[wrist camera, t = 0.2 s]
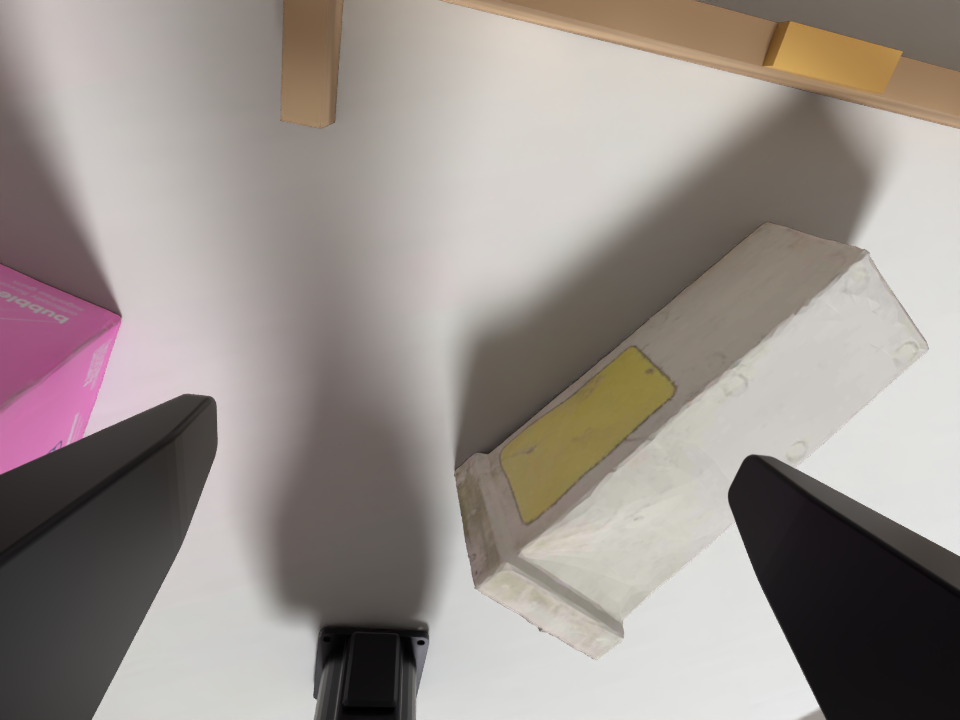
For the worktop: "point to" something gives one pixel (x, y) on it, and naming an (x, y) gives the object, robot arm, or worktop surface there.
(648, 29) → the wooden bar
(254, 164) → the worktop surface
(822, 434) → the block
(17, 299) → the gum box
